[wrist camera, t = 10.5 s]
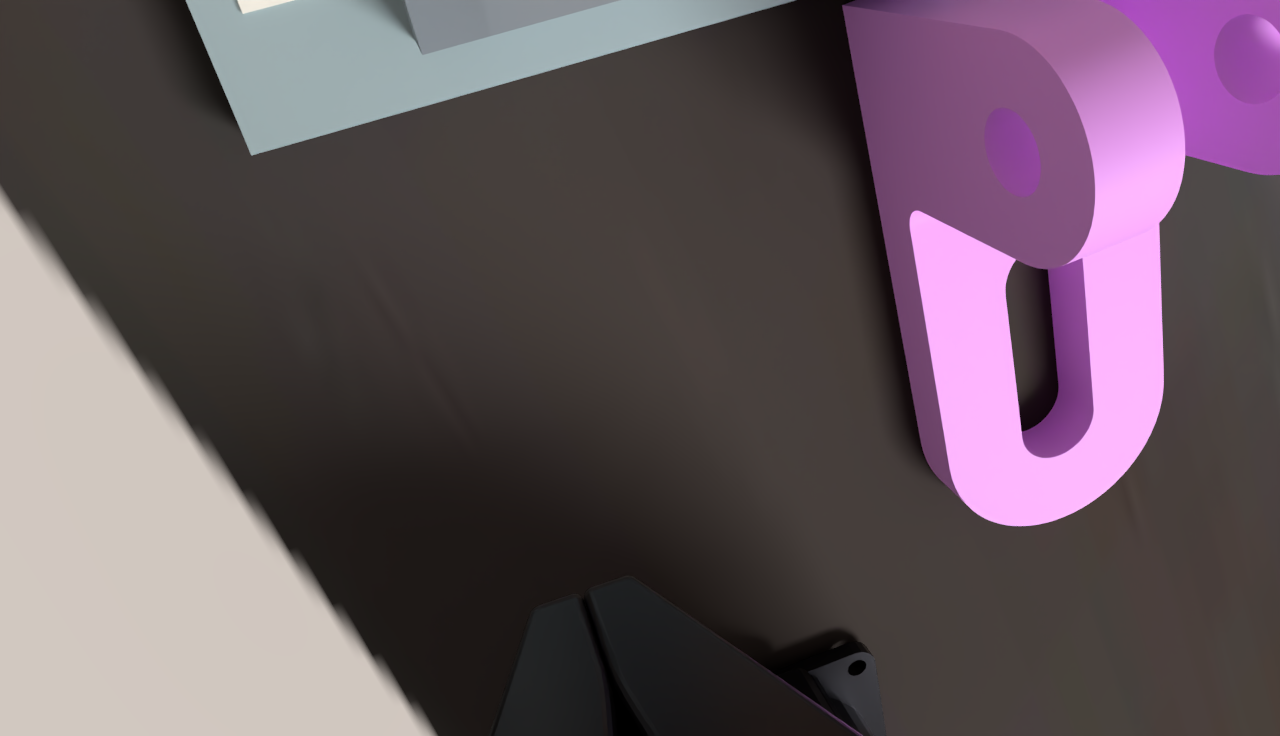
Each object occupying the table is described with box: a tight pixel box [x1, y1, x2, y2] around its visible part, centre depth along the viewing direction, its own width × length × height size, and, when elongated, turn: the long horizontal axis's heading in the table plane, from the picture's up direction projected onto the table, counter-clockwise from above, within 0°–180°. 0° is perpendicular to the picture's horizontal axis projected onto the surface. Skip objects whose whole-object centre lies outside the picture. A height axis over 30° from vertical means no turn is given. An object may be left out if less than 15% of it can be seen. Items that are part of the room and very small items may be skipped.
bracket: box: [842, 0, 1280, 526], centre depth 18 cm, size 13×6×7 cm, turn 17°
